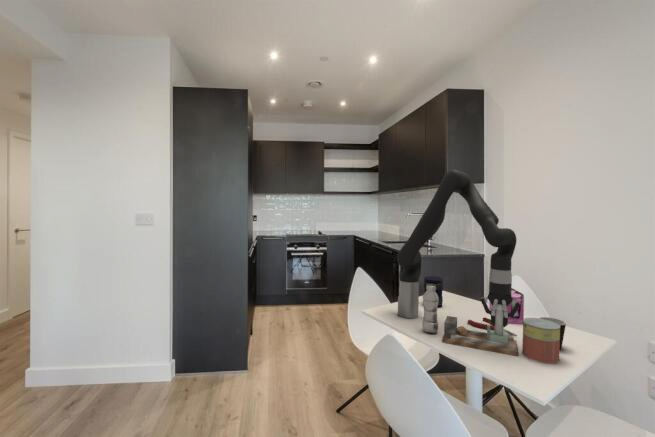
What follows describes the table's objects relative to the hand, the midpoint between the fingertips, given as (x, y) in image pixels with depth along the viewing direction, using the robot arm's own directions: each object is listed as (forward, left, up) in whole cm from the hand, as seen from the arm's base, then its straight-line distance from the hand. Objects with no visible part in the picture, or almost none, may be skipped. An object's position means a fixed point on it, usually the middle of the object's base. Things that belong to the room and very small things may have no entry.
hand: (499, 325), depth 125 cm
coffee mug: (+18, +11, -8) cm, 23 cm away
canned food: (+13, -2, -8) cm, 16 cm away
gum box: (+4, +43, -8) cm, 44 cm away
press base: (-7, 0, -8) cm, 11 cm away
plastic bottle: (-26, +3, -8) cm, 27 cm away
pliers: (-3, +19, -9) cm, 21 cm away
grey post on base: (-1, 0, -6) cm, 6 cm away
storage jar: (-31, +43, -8) cm, 53 cm away
